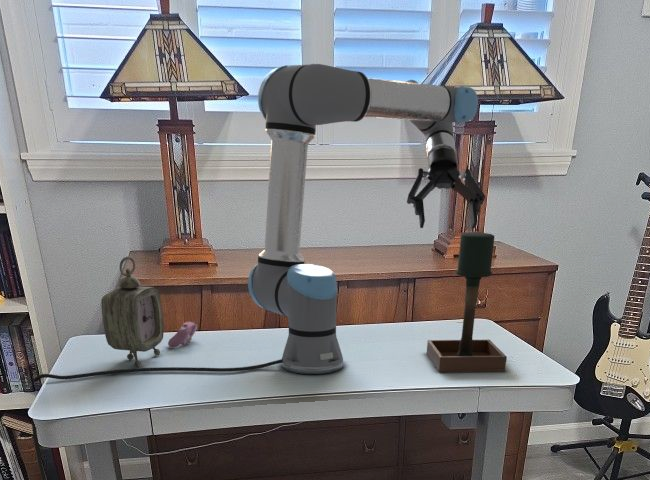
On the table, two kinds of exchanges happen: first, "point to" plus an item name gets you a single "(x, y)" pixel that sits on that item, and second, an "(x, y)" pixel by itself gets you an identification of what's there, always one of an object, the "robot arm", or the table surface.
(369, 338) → the table surface
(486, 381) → the table surface
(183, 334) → the pink toy shoe
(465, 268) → the potato masher grenade
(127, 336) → the tabletop clock
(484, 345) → the holder
